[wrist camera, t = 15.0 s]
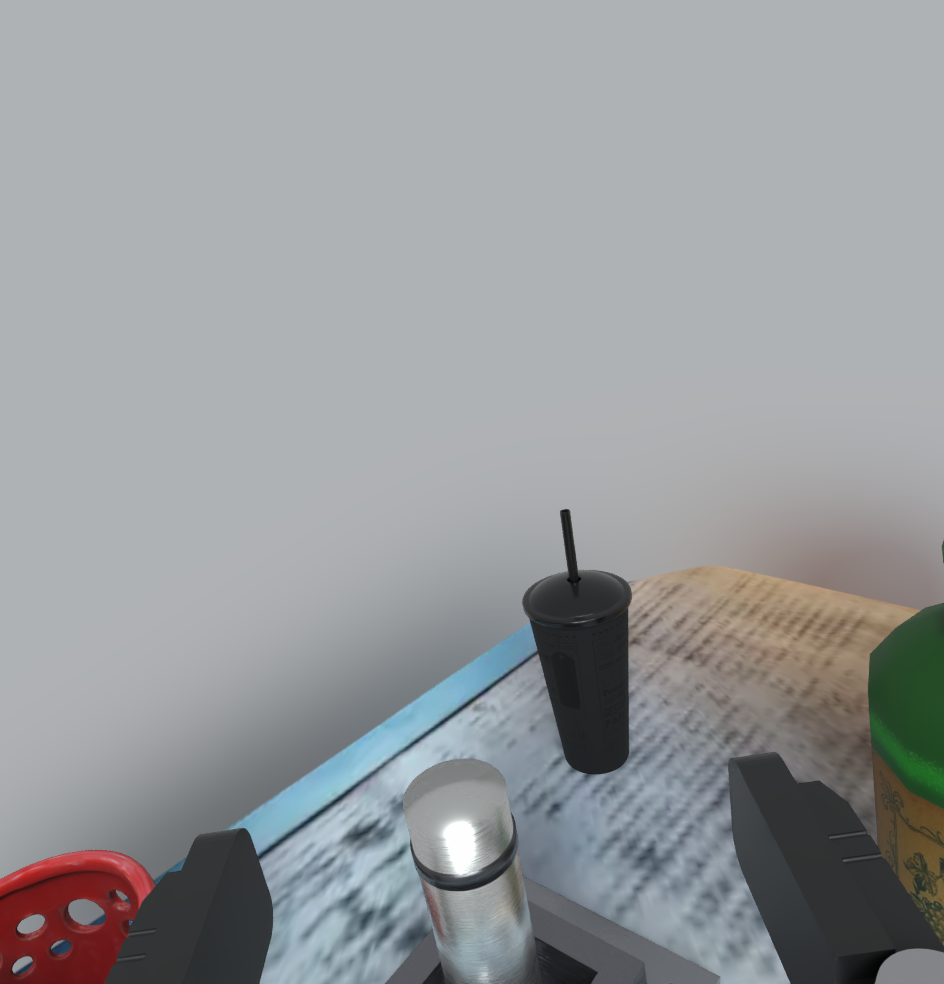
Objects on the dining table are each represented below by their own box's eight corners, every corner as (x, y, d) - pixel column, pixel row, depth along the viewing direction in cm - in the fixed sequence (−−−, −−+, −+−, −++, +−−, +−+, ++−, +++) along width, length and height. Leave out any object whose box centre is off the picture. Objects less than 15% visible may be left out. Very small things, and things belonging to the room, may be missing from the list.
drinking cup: (665, 771, 56) (640, 517, 49) (565, 800, 54) (526, 544, 48) (624, 711, 63) (598, 482, 56) (535, 736, 62) (497, 505, 55)
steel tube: (501, 992, 41) (449, 745, 35) (574, 1040, 38) (529, 778, 33) (445, 1068, 38) (378, 809, 32) (520, 1127, 35) (460, 852, 29)
